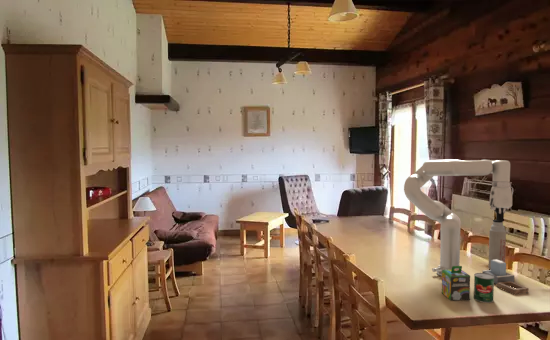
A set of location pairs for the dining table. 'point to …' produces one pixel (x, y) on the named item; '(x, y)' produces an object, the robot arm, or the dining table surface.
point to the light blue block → (498, 267)
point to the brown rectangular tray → (515, 291)
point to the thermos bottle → (497, 242)
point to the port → (500, 277)
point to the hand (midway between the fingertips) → (499, 220)
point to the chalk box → (456, 284)
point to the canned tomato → (483, 287)
